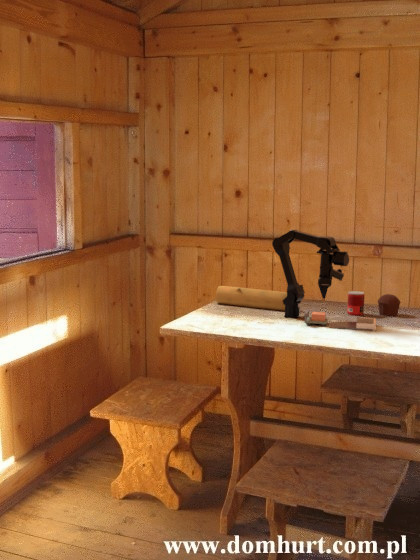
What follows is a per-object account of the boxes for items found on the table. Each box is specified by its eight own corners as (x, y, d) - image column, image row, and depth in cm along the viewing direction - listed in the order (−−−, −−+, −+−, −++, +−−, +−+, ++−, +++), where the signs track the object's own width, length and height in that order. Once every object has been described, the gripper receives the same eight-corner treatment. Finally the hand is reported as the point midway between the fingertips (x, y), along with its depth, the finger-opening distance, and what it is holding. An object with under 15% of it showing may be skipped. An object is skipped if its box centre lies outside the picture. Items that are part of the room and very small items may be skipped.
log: (291, 309, 408) (292, 290, 407) (284, 312, 400) (285, 292, 398) (223, 301, 425) (223, 283, 424) (215, 304, 417) (215, 285, 415)
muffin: (403, 317, 394) (404, 296, 393) (382, 317, 392) (383, 297, 391) (394, 312, 406) (395, 292, 404) (373, 312, 404) (374, 292, 402)
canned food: (363, 316, 394) (364, 294, 392) (346, 315, 395) (347, 293, 394) (363, 313, 401) (364, 291, 400) (347, 312, 403) (348, 290, 401)
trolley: (304, 325, 368) (304, 313, 368) (306, 321, 379) (306, 309, 378) (326, 327, 366) (326, 314, 366) (327, 322, 377) (328, 310, 376)
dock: (328, 330, 365) (328, 321, 364) (330, 324, 379) (330, 315, 378) (375, 333, 361) (375, 324, 360) (375, 327, 374) (375, 318, 374)
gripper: (343, 267, 364) (341, 301, 367) (343, 262, 383) (341, 294, 385) (318, 266, 366) (316, 299, 369) (320, 260, 384) (318, 292, 387)
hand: (324, 296), depth 377 cm, fingers open, 9 cm apart
